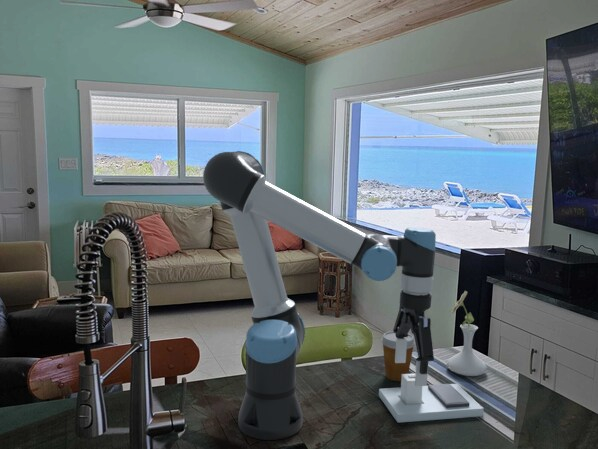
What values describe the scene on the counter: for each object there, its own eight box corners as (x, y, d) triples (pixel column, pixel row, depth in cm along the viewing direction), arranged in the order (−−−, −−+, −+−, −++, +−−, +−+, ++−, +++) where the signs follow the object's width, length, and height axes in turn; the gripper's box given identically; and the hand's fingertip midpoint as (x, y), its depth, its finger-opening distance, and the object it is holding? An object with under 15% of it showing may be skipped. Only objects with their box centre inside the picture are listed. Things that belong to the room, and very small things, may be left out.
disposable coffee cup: (416, 384, 148) (418, 342, 146) (382, 383, 148) (383, 342, 146) (410, 370, 157) (412, 331, 156) (377, 369, 157) (379, 330, 156)
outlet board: (397, 422, 127) (398, 414, 126) (378, 395, 140) (379, 388, 140) (483, 416, 131) (483, 408, 130) (456, 390, 144) (457, 383, 144)
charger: (405, 411, 132) (407, 380, 131) (400, 403, 136) (401, 373, 135) (421, 410, 133) (422, 379, 132) (415, 402, 137) (416, 372, 136)
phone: (446, 407, 130) (446, 404, 130) (428, 388, 141) (428, 384, 141) (469, 406, 131) (469, 402, 131) (449, 386, 142) (449, 383, 142)
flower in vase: (458, 360, 165) (463, 282, 161) (493, 372, 157) (499, 289, 153) (435, 372, 156) (440, 289, 153) (471, 385, 148) (476, 297, 144)
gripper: (453, 306, 119) (445, 395, 122) (411, 278, 143) (405, 353, 146) (421, 306, 118) (414, 396, 121) (384, 278, 142) (379, 354, 145)
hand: (409, 373), depth 133 cm, fingers open, 13 cm apart
